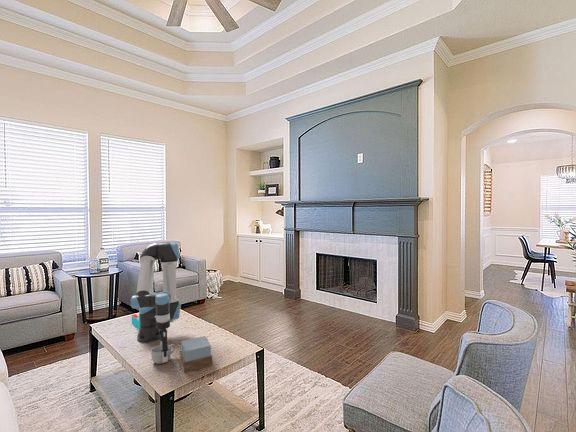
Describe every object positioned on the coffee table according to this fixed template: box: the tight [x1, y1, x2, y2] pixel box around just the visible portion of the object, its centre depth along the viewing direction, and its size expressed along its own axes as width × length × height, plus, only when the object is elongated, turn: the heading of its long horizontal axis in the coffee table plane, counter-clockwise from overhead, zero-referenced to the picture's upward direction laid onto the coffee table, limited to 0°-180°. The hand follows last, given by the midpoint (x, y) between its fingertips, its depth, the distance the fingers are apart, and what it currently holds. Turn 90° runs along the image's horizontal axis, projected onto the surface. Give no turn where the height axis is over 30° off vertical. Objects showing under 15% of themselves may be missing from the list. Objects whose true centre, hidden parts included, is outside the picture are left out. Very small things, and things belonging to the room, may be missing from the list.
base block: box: [179, 350, 213, 374], centre depth 174 cm, size 15×15×6 cm
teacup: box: [150, 343, 176, 365], centre depth 177 cm, size 14×11×8 cm
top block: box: [180, 336, 212, 362], centre depth 174 cm, size 14×14×6 cm
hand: (164, 356), depth 177 cm, fingers open, 13 cm apart
